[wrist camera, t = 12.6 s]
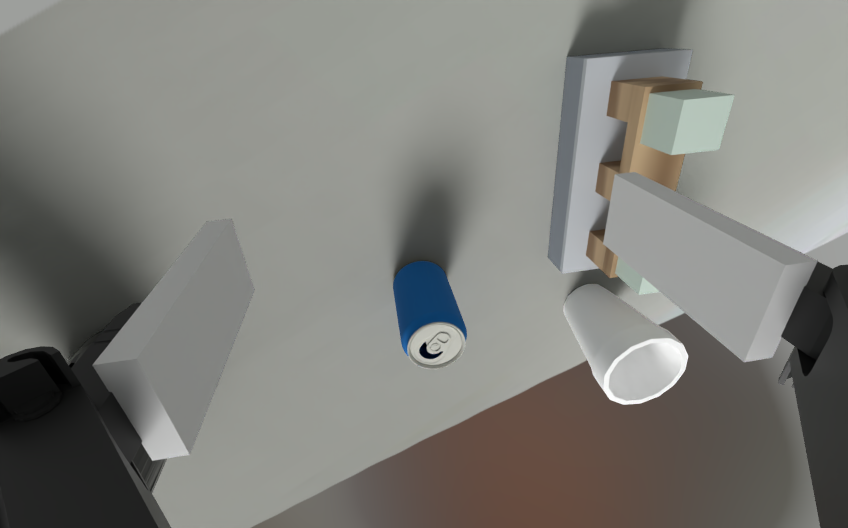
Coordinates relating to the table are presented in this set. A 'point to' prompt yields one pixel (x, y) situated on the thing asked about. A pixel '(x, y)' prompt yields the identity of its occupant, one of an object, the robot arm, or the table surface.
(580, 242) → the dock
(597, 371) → the foam cup
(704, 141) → the block
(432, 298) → the beverage can
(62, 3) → the table surface
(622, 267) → the block
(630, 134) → the tan wooden bar
